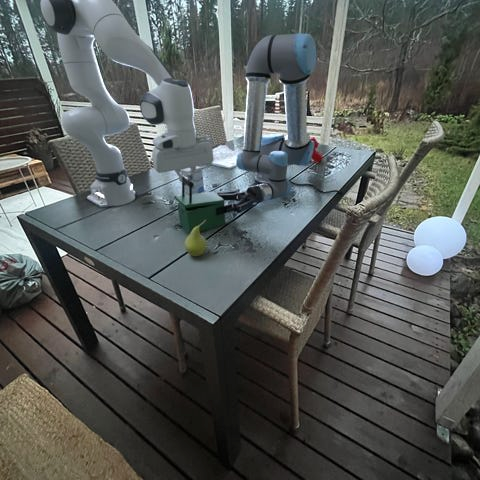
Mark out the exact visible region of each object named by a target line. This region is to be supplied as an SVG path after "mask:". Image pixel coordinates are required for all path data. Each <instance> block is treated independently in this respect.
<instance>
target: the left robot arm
mask: <svg viewBox="0 0 480 480" xmlns="http://www.w3.org/2000/svg"><path fill="white" fill-rule="evenodd" d="M39 8H40V12H41V15H42V18H43V20H44V22H45V23H46V25H47V26H48V28H50V29H51V31H53V32H56V37H57V38H56V39H57V44H58V48H59V54H60V57H61V61H62V63H63V67H64V70H65V73H66V77H67V79H68V82H69V85H70V87H71V89H72V90H73V91H74V92H75V93H77V94H78V95H80V96H83V97H85V98H86V99H88V101H89V103H90V105H91V106H83V107H75V108H71V109H69V110H66V111H64V112H63V113H62V116H61V126H62V128H63V131H64V132H65V133H66V134H67V135H68V136H69V137H70V138H71V139H74V140H76V141H78V142H79V143H81V144H82V145H83V146H84V147H85V148H86V149H87V151H88V152H89V154H90V155H91V158H92V161H93V163H94V166H95V169H96V170H95V171H94V175H95V177H96V178H95V180H94V181H93V183H91V184H90V193H91V194H88V195H87V197H86V199H87V201H89V202H91V203H93V204H94V205H96V206H98V207H100V208H109V207H118V206H123V205H127V204H129V203H132V202H133V201H134V200H135V199H136V194H137V192H136V191H135V190H134V188H133V187H134V185H133V184H132V183H131V179H130V178H129V176H128V171H127V169H126V167H125V164H124V160H123V156H122V153H121V150H120V149H119V148H118V147H117V146H115V145H113V144H109V143H107V142H106V140H105V137H106V136H111V135H117V134H120V133H122V132H124V131H126V130H128V129H129V128H130V124H131V123H130V122H131V121H130V120H131V119H130V115H129V113H128V111H127V110H126V109H125V108H124V107H123V106H122V105H120V104H118V103H117V102H116V101H115V99H113V97H112V96H111V94H110V93H109V92H108V89H107V88H106V85H105V83H104V80H103V76H102V73H101V70H100V67H99V64H98V60H97V56H96V53H95V50H94V42H95V41H96V43H97V44H98V46H99V48H100V49H101V51H102V52H103V53H104V54H105V55H106V56H107V57H108V58H109V59H110V60H111V61H113V62H115V63H117V64H121V65H123V66H128V67H131V68H134V69H137V70H140V71H142V72H144V73H145V74H147V75H148V76H149V77H150V78H151V79H152V81H153V82H154V84H156V87H155V88H154V89H150V90H148V91H146V92H143V94H142V95H141V97H140V101H139V109H140V113H141V115H142V117H143V119H144V120H145V121H146V122H147V123H148V124H150V125H154V126H160V125H165V128H166V132H163V133H162V134H160V135H158V136H156V137H154V138H153V139H152V145H153V146H154V147H153V149H152V157H151V158H152V167H153V169H154V170H155V172H157V173H158V174H162V173H167V172H173V171H174V172H175V173H176V175H177V176H178V180H179V182H180V183H182V182H183V181H185V176H183V175H182V169H186V168H190V169H191V171H190V174H187V175H188V179H189V180H193V179H194V176H193V175H194V173H195V171H196V166H198V167H201V166H205V165H206V166H207V165H212V162H213V161H214V158H213V151H212V149H213V140H212V138H211V137H210V136H209V135H207V134H206V135H197V132H196V131H197V130H196V125H195V121H194V115H195V108H194V107H195V105H194V99H193V93H192V89H191V86H190V84H189V83H188V82H187V81H186V80H184V79H180V78H175V77H174V75H173V74H172V73H171V71H170V70H169V68H168V67H167V66H166V64H165V63H164V62H163V61H162V60H161V58H160V57H159V55H157V53H156V52H155V51H154V50H153V48H151V47H150V46H149V44H147V43H146V42H145V41H144V40H143V39H142V38H141V37H140V36H139V35H138V34H137V33H136V31H135V30H134V29H133V28H132V27H131V25H130V23H129V22H128V20H127V19H126V17H125V16H124V14H123V13H122V11H121V10H120V8H119V7H118V6H117V4H116V3H115V2H114V1H113V0H39Z"/></svg>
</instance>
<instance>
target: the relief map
mask: <svg viewBox="0 0 480 480" xmlns="http://www.w3.org/2000/svg"><path fill="white" fill-rule="evenodd" d="M212 151H213V158H214V161H213V162H212V164H211V165H213V166H215V167H216V166H217V167H221V168H225V169H230V170H231V169H233V168H236V167H237V164H236V159H237V156H238V154H239V153H240V152H243V149H242V148H237V149H235V150H232V149H230V148H229V147H228V146H227V145H226V144H224V145H223V144H220V145H217V147H214V148H212Z"/></svg>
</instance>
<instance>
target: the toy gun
mask: <svg viewBox="0 0 480 480" xmlns="http://www.w3.org/2000/svg"><path fill="white" fill-rule="evenodd" d="M311 140H312V141H314V143H315V144H314V150H313V154H312V157H311V159H312V160H314V161H315V164H316V165H318V164H319V163H320V162H321V163H322V161H323V159H324V156H323V155H322V154H321V153H320V152H319V151H317V148H318V147H319V142H318V141H317V139H316V138H315V137H314V136H313V137H310V141H311ZM316 162H319V163H316Z"/></svg>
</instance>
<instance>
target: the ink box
mask: <svg viewBox="0 0 480 480" xmlns="http://www.w3.org/2000/svg"><path fill="white" fill-rule="evenodd" d="M190 171H191V169H190V168H185V169H181V175H183V176H185V177H186V178H187V179H188V175H187V174H190ZM193 176H194V179H193V180H190V181H191V182H193V184H194V186H193V187H192V194H197V193H203V192H205V187H204V173H203V168H202V167H201V166H196V171H195V173H194V175H193ZM184 191H185V195H188V194H189V186H187V185H186V184H185V183H184Z"/></svg>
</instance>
